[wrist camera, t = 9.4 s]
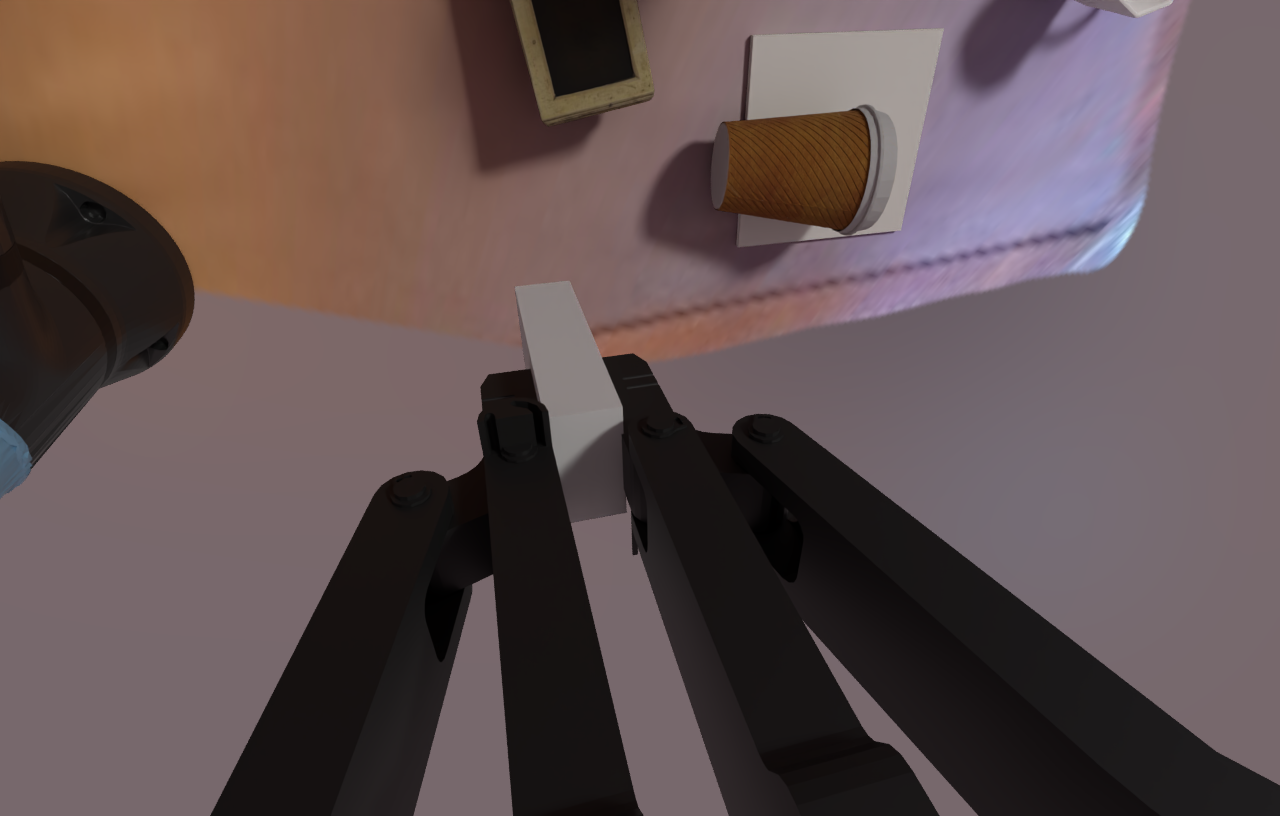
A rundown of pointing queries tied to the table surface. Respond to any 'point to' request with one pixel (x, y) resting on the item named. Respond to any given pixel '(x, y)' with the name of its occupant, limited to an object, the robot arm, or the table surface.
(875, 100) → the felt mat
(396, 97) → the table surface
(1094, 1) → the cup
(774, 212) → the disposable coffee cup
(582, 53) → the box
